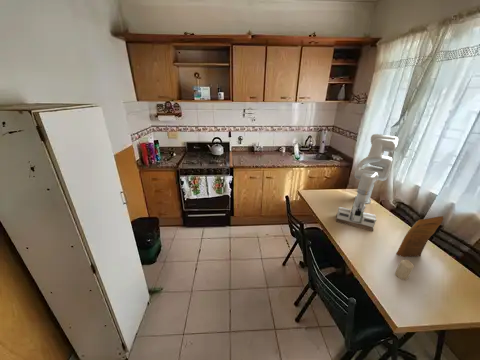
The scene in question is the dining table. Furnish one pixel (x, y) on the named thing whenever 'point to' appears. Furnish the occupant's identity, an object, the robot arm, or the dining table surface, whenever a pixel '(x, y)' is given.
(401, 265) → the candle
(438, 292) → the dining table surface
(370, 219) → the rail board
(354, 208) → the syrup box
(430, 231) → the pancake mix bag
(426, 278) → the dining table surface
